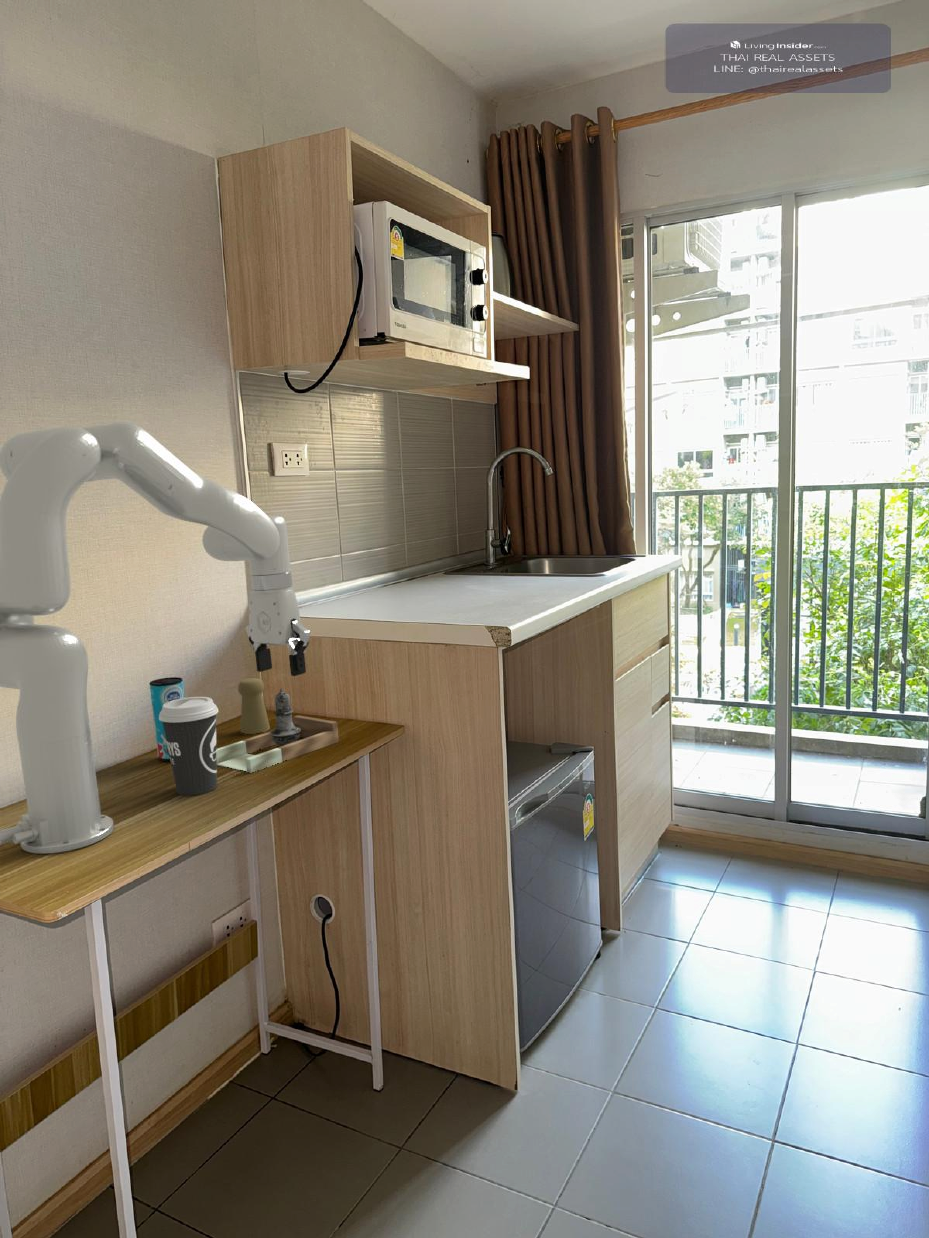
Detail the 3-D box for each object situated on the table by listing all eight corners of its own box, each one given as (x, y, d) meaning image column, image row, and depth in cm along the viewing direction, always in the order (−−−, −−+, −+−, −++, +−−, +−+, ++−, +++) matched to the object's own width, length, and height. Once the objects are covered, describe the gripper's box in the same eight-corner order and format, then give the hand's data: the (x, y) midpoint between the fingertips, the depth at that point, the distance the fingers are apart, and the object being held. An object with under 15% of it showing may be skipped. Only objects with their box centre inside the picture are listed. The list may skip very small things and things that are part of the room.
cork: (239, 728, 185) (234, 678, 183) (268, 725, 187) (263, 674, 185) (241, 736, 179) (236, 683, 178) (271, 732, 181) (266, 680, 179)
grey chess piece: (306, 744, 170) (300, 684, 169) (297, 753, 165) (291, 691, 163) (276, 745, 171) (271, 685, 169) (267, 754, 165) (261, 692, 163)
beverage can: (166, 764, 163) (156, 685, 161) (153, 758, 167) (144, 681, 165) (196, 756, 167) (187, 679, 164) (183, 750, 171) (174, 675, 169)
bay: (251, 773, 154) (249, 751, 154) (212, 763, 161) (209, 742, 161) (338, 741, 171) (337, 721, 170) (299, 734, 178) (297, 715, 177)
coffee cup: (199, 776, 154) (190, 693, 152) (238, 783, 149) (229, 697, 147) (155, 794, 146) (144, 707, 144) (195, 802, 141) (184, 711, 139)
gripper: (226, 584, 166) (236, 672, 168) (286, 586, 155) (296, 680, 158) (258, 579, 171) (267, 664, 174) (318, 580, 161) (327, 671, 164)
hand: (281, 672), depth 166 cm, fingers open, 9 cm apart
